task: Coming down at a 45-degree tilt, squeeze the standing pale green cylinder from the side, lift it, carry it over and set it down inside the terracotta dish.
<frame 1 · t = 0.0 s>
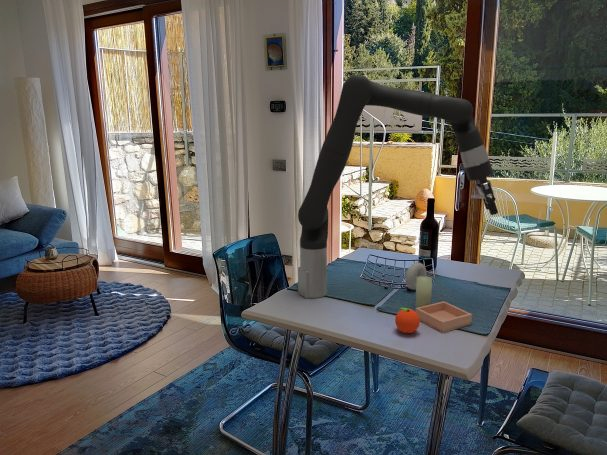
hand: (492, 211, 149), 31 cm above the table, tool tilted 20°, fingers open, 8 cm apart
donut: (415, 289, 171), on the table
clementine: (405, 332, 138), on the table
dish: (442, 321, 144), on the table
pale green cylinder: (422, 307, 155), on the table
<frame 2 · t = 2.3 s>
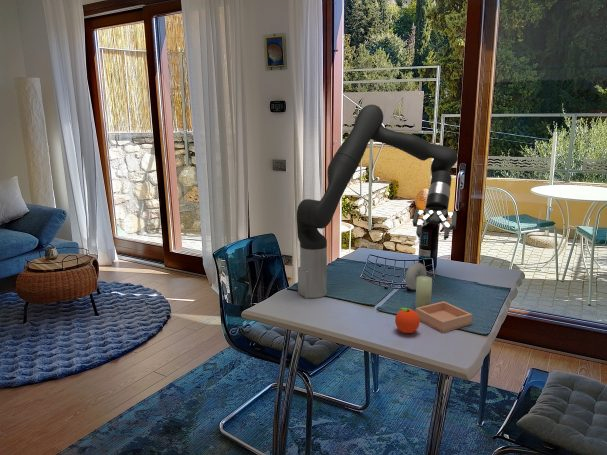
hand: (431, 237, 160), 21 cm above the table, tool tilted 45°, fingers open, 8 cm apart
nothing on the table moved.
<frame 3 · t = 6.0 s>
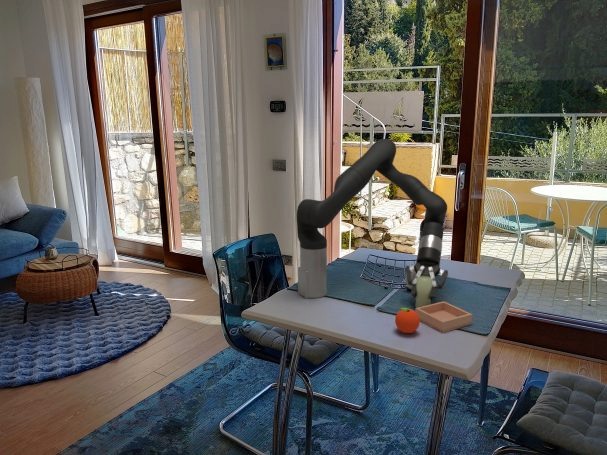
hand: (422, 297, 152), 4 cm above the table, tool tilted 45°, fingers closed on pale green cylinder, 4 cm apart
pale green cylinder: (422, 307, 155), on the table, touching gripper
everything else where it was.
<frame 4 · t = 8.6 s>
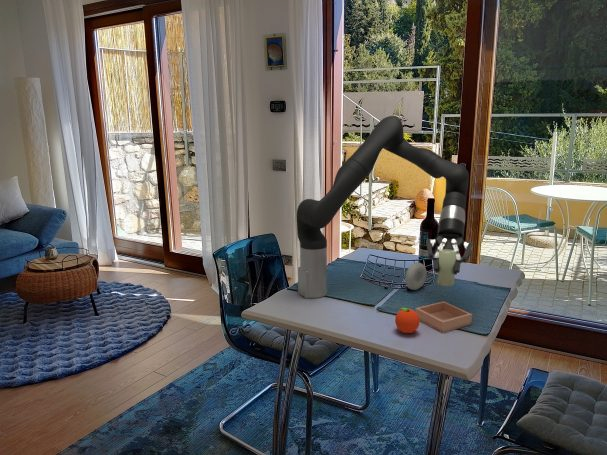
hand: (445, 272, 139), 16 cm above the table, tool tilted 45°, fingers closed on pale green cylinder, 4 cm apart
pale green cylinder: (445, 283, 142), point 12 cm above the table, touching gripper
everything else where it was.
when the fingers open (7 cm above the table, at t = 10.8 s): pale green cylinder drops 2 cm, resting on dish.
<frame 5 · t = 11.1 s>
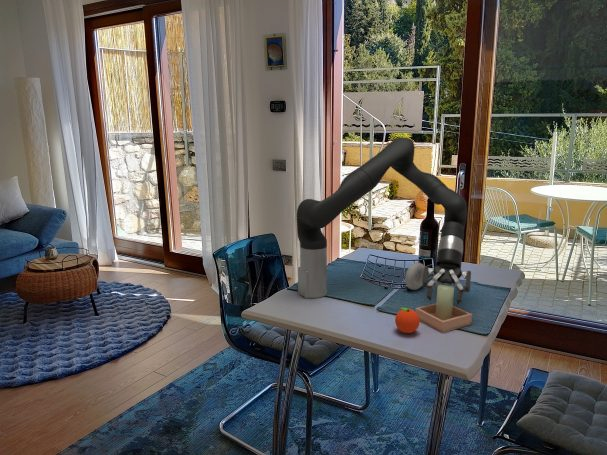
hand: (443, 301, 141), 7 cm above the table, tool tilted 45°, fingers open, 7 cm apart
pale green cylinder: (443, 318, 144), point 1 cm above the table, touching dish
everything else where it was.
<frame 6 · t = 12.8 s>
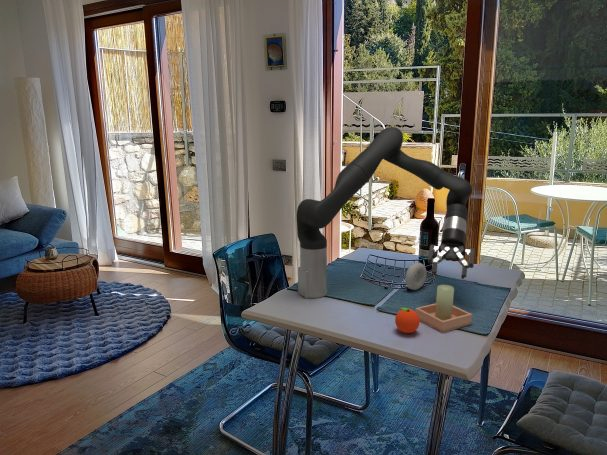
hand: (448, 276, 152), 11 cm above the table, tool tilted 45°, fingers open, 8 cm apart
nothing on the table moved.
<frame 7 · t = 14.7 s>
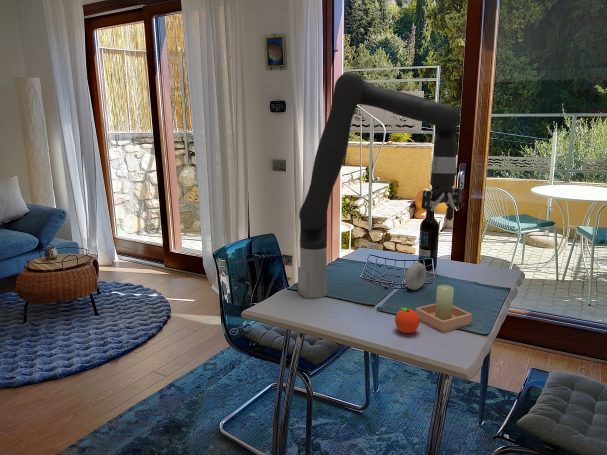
hand: (439, 221, 154), 27 cm above the table, tool pointing down, fingers open, 8 cm apart
nothing on the table moved.
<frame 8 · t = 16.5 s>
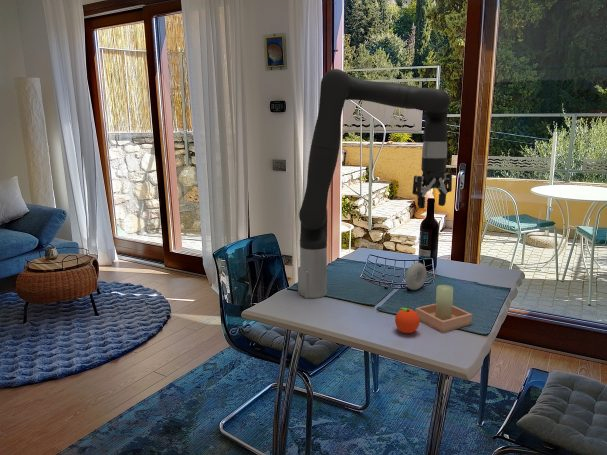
hand: (431, 206, 153), 32 cm above the table, tool pointing down, fingers open, 8 cm apart
nothing on the table moved.
at the end: pale green cylinder inside the target area on the dish (0.1 cm from its centre), point 0.8 cm above the dish's base; the gripper is holding nothing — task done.
